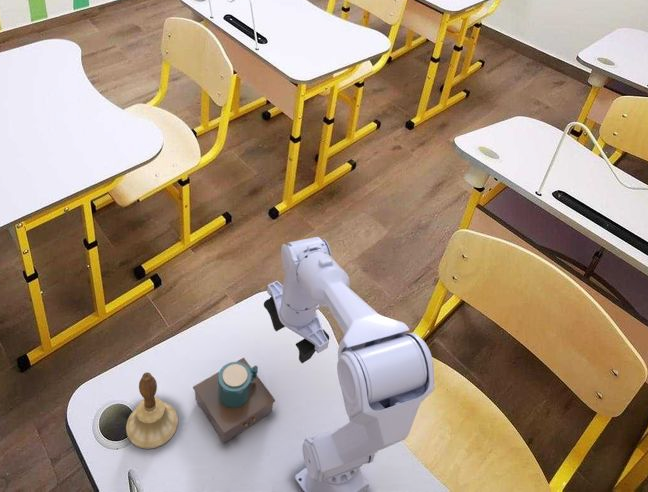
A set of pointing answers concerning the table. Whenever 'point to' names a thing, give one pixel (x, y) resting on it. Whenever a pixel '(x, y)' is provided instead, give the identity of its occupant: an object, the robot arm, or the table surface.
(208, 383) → the brown wooden box
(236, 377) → the cup
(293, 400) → the table surface
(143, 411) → the hand bell
